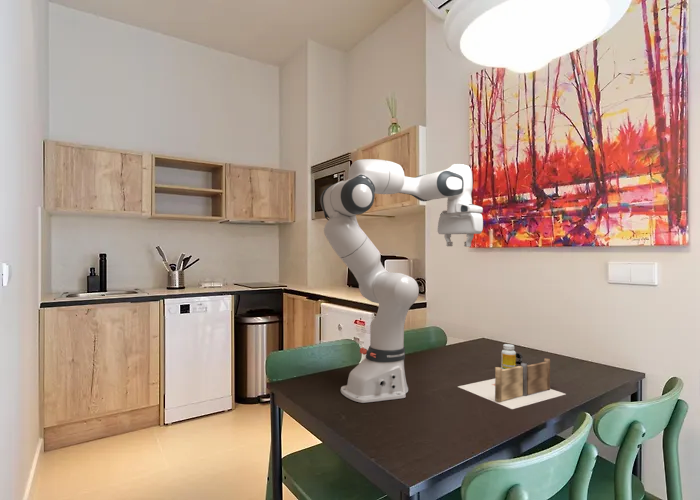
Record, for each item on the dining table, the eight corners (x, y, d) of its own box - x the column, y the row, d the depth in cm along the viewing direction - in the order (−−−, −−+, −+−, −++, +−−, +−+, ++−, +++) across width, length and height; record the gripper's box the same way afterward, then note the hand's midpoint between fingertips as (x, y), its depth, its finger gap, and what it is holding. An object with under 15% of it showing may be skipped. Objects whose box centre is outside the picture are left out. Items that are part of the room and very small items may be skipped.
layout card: (512, 410, 117) (512, 409, 117) (457, 387, 136) (457, 386, 136) (566, 395, 130) (566, 394, 130) (509, 376, 149) (509, 375, 149)
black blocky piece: (534, 364, 168) (534, 353, 168) (529, 368, 162) (529, 356, 162) (503, 358, 176) (503, 348, 176) (498, 362, 170) (498, 351, 170)
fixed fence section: (524, 396, 128) (524, 364, 128) (519, 394, 129) (519, 363, 129) (551, 389, 134) (551, 359, 134) (546, 387, 136) (546, 358, 136)
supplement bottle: (499, 367, 160) (499, 343, 160) (512, 367, 161) (512, 343, 161) (504, 371, 155) (504, 346, 155) (518, 371, 155) (518, 346, 155)
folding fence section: (498, 402, 122) (498, 368, 122) (493, 400, 123) (494, 367, 123) (523, 395, 127) (523, 363, 127) (518, 393, 129) (518, 362, 129)
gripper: (434, 210, 157) (433, 246, 157) (473, 206, 139) (471, 246, 139) (446, 211, 160) (445, 246, 160) (486, 207, 142) (485, 247, 142)
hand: (458, 246), depth 149 cm, fingers open, 8 cm apart
